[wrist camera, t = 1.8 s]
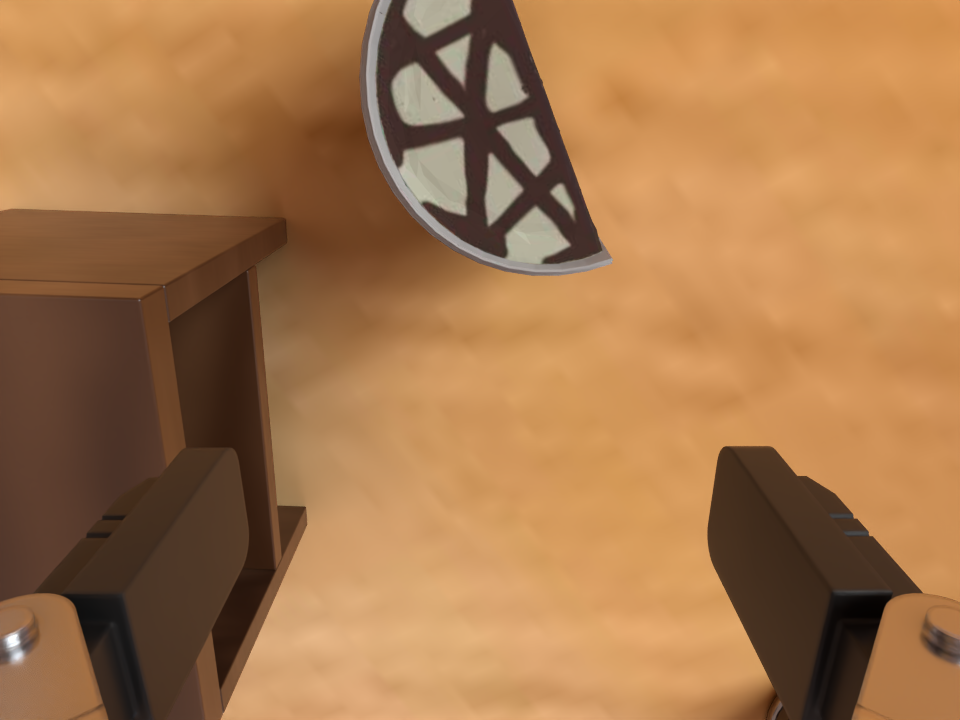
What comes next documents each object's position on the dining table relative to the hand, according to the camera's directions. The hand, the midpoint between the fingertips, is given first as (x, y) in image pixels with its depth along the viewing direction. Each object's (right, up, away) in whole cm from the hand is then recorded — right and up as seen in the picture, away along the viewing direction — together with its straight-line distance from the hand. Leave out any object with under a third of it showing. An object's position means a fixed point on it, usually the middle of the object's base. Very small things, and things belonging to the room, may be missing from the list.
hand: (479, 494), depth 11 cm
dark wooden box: (-16, +1, +24) cm, 28 cm away
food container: (0, +13, +19) cm, 23 cm away
